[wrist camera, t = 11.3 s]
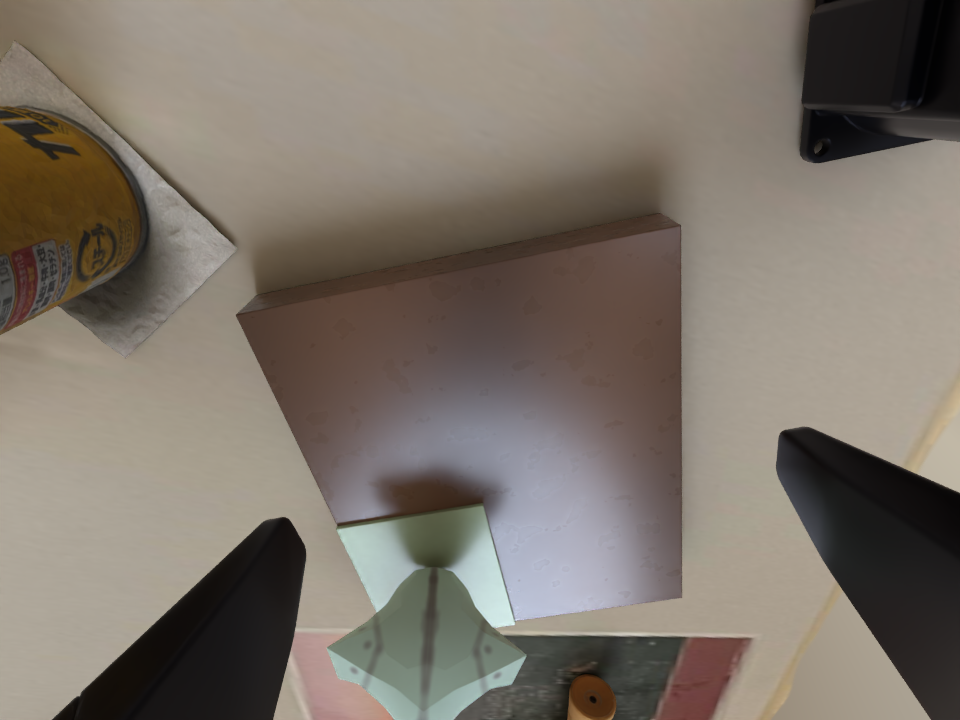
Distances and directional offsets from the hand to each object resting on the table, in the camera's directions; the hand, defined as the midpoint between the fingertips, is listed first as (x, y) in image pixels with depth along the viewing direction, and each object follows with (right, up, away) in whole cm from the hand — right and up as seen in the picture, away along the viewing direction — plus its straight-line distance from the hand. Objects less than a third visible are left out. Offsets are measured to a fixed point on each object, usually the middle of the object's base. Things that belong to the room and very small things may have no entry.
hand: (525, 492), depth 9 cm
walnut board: (0, -2, +15) cm, 15 cm away
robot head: (-3, -8, +16) cm, 18 cm away
